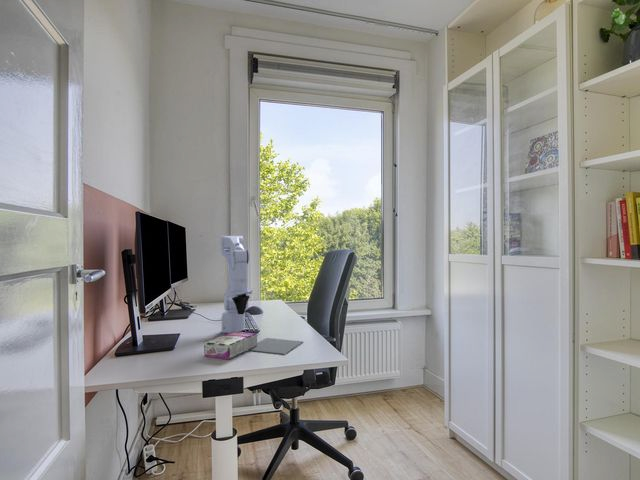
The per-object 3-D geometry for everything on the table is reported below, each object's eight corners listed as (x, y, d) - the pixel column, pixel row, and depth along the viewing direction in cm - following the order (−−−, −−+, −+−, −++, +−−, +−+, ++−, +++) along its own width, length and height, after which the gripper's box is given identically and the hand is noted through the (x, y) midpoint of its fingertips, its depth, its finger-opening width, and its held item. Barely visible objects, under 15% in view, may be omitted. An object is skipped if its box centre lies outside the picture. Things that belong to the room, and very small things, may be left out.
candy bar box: (234, 344, 144) (203, 356, 129) (233, 331, 144) (202, 341, 129) (258, 346, 139) (229, 359, 124) (257, 332, 139) (228, 344, 124)
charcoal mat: (245, 350, 135) (245, 349, 135) (266, 338, 150) (266, 337, 150) (285, 354, 130) (285, 353, 130) (303, 342, 145) (303, 341, 145)
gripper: (238, 281, 141) (239, 317, 141) (258, 278, 155) (259, 311, 154) (223, 281, 144) (223, 316, 143) (243, 278, 157) (244, 310, 157)
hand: (241, 314), depth 149 cm, fingers closed
